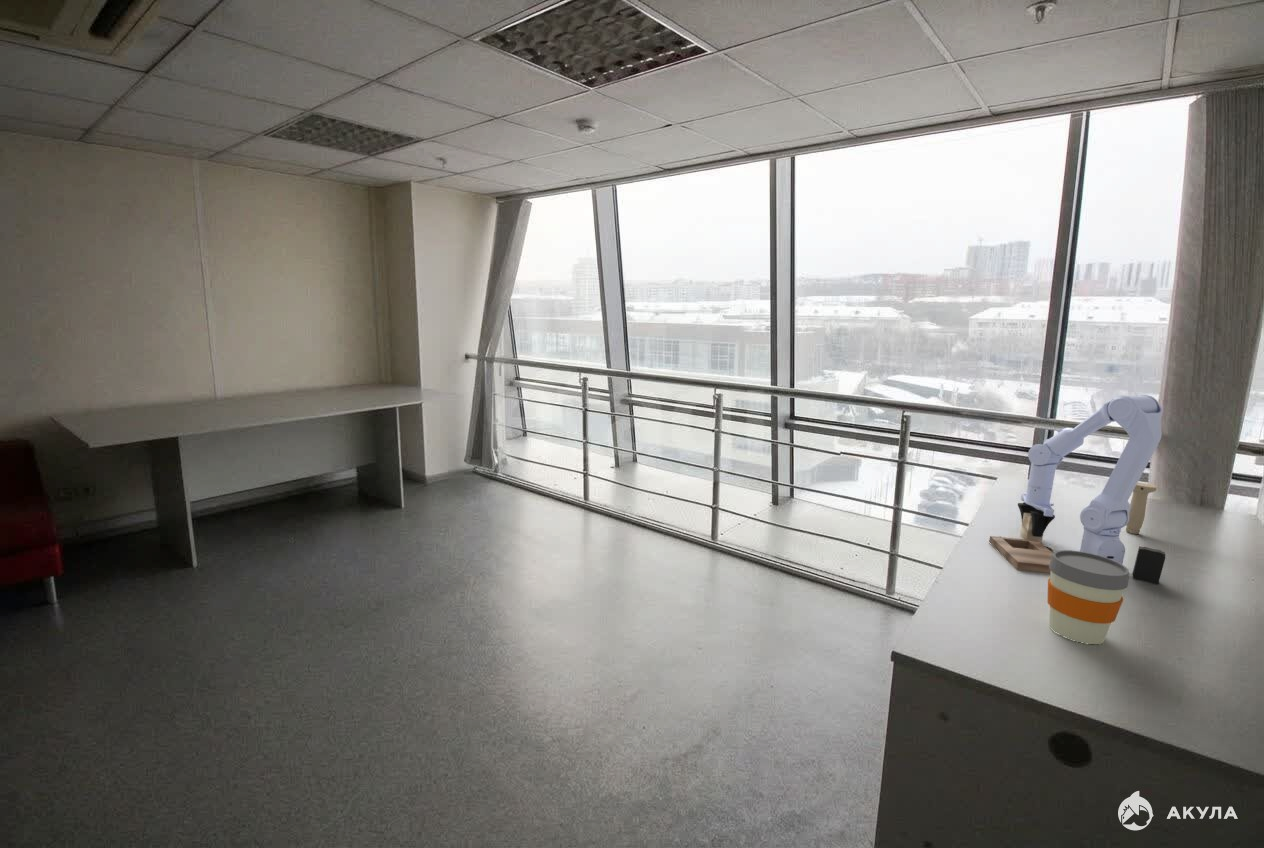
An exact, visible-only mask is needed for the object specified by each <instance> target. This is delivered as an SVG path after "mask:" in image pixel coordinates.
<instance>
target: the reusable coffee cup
mask: <svg viewBox="0 0 1264 848" xmlns="http://www.w3.org/2000/svg"><path fill="white" fill-rule="evenodd" d="M1049 569H1050V570H1051V573H1050V578H1048V580H1047V604H1048V606H1049V621H1048V622H1049V623H1048V624H1049V625H1048V627H1049V626H1050V627H1051V628H1052V629H1053V630H1054V631H1055V632H1057V633H1059V634H1060V635H1062V636H1065V637H1067V638H1069V639H1072V640H1075V641H1078V642H1083V643H1088V644H1099V645H1102V644H1104V641H1105V639H1106V637H1107V634H1108V631H1109V629H1110V627H1111V624H1112V623H1115V622H1116V620H1117V616H1118V614H1119V611H1120V609H1121V607H1122V604H1123V602H1124V597H1123V593H1124V591H1125V589H1128V587H1129V578H1130V571H1129V568H1128V567H1127V566H1125V565H1124V564H1120V563H1118V562H1116V561H1114V560H1111V559H1108V558H1106V557H1102V556H1099V555H1095V554H1091V553H1086V552H1080V550H1070V549H1069V550H1068V549H1066V550H1064V549H1063V550H1056V551H1054V552H1053V555H1052V558H1051V561H1050V564H1049ZM1050 627H1049V628H1050ZM1055 632H1054V633H1055ZM1060 635H1059V636H1060ZM1062 636H1061V637H1062ZM1078 642H1077V643H1078ZM1101 643H1102V644H1101ZM1088 644H1087V645H1088Z"/></svg>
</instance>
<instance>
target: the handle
mask: <svg viewBox="0 0 1264 848" xmlns="http://www.w3.org/2000/svg"><path fill="white" fill-rule="evenodd" d="M1156 491H1157V486H1156V485H1154V484H1150V483H1147V482H1140V481H1138V483H1137V485H1136V486H1135V488H1134V490H1133V492H1132V495H1131V496H1132V497H1131V500H1130V502H1129V504H1130V505H1131V509H1130V511H1129V521H1128V524H1127V525H1126V526H1125V532H1126V533H1129V534H1131V533H1132V535H1139V534H1140V532H1141V529H1142V527H1143V524H1144V522H1145V521H1144V520H1145V518H1146V517H1145V516H1146V508H1147V501H1148V496H1149V493H1154V492H1156Z"/></svg>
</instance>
